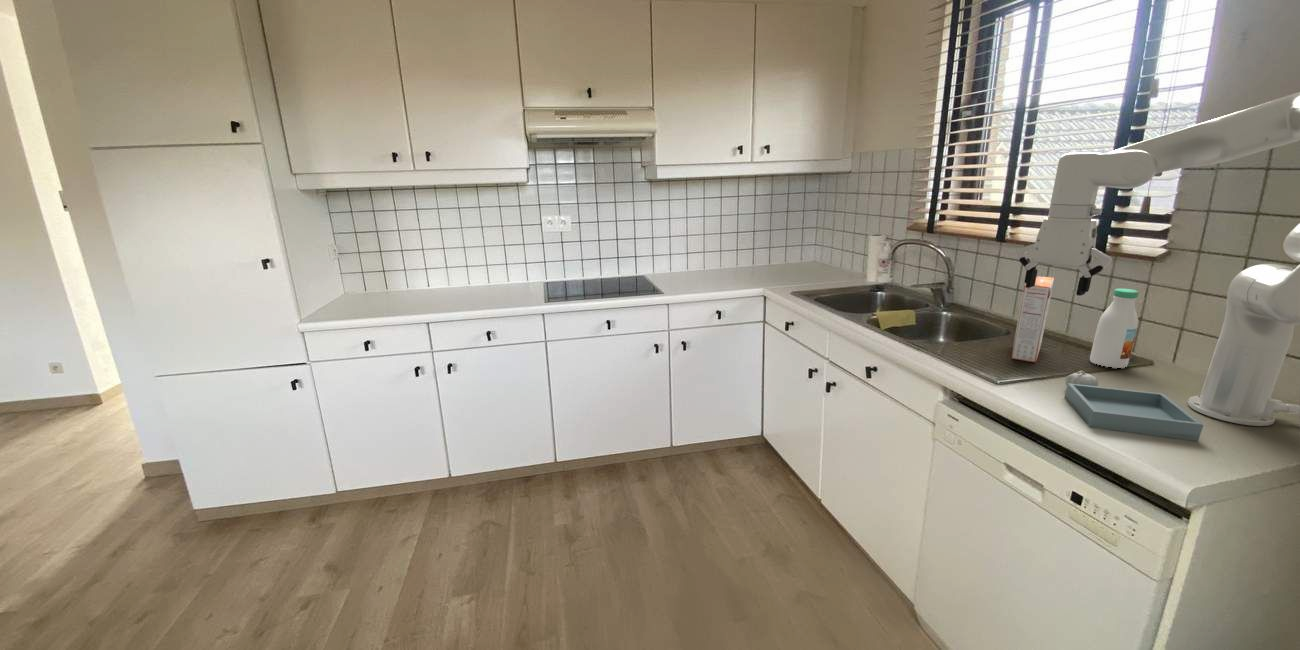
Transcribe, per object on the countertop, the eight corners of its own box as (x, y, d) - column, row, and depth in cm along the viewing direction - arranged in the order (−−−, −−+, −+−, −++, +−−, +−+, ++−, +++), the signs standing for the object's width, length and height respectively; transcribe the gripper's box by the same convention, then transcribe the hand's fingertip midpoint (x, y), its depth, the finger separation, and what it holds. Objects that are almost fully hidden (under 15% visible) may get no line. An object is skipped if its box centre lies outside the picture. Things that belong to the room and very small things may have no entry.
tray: (1158, 408, 114) (1163, 393, 113) (1198, 441, 101) (1203, 424, 100) (1064, 397, 120) (1067, 383, 119) (1089, 427, 107) (1093, 411, 106)
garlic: (1069, 394, 122) (1074, 373, 120) (1060, 385, 127) (1065, 365, 125) (1100, 398, 120) (1106, 376, 118) (1090, 388, 125) (1095, 368, 123)
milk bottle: (1106, 369, 135) (1126, 294, 130) (1081, 359, 143) (1098, 286, 137) (1135, 368, 136) (1156, 293, 130) (1108, 358, 143) (1127, 286, 137)
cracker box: (1015, 345, 154) (1029, 274, 148) (1040, 349, 151) (1056, 277, 144) (1008, 358, 144) (1023, 283, 138) (1035, 363, 140) (1052, 286, 134)
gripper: (1128, 214, 109) (1108, 295, 113) (1031, 209, 122) (1018, 282, 127) (1115, 216, 104) (1096, 300, 109) (1017, 211, 118) (1004, 286, 123)
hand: (1054, 290), depth 118 cm, fingers open, 9 cm apart
